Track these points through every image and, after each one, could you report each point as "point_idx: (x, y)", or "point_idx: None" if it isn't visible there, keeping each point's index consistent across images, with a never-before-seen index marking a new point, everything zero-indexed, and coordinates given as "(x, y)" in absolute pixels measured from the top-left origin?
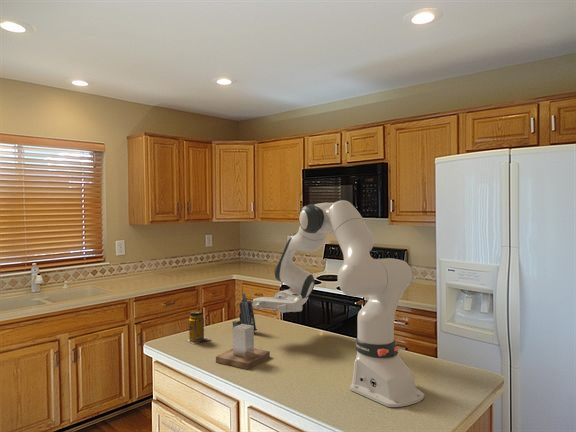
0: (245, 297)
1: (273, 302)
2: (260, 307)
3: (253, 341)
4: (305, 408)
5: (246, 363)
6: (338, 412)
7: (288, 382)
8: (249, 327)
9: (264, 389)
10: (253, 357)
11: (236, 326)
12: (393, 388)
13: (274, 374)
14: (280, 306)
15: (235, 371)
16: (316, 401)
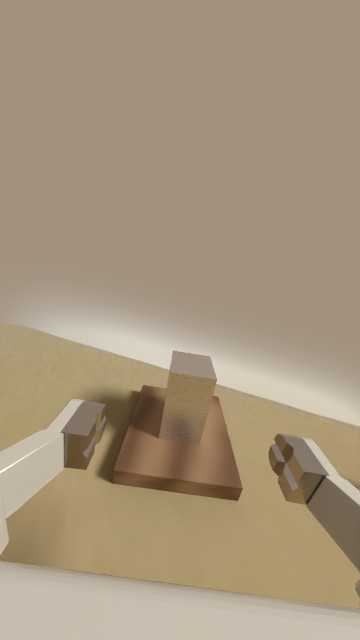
0: None
1: (195, 589)
2: (357, 590)
3: (163, 411)
4: (44, 337)
5: (146, 386)
6: (2, 335)
7: (58, 371)
8: (172, 360)
9: (97, 355)
10: (145, 411)
11: (208, 361)
12: None
13: (85, 388)
14: (51, 427)
15: (159, 384)
16: (24, 345)
